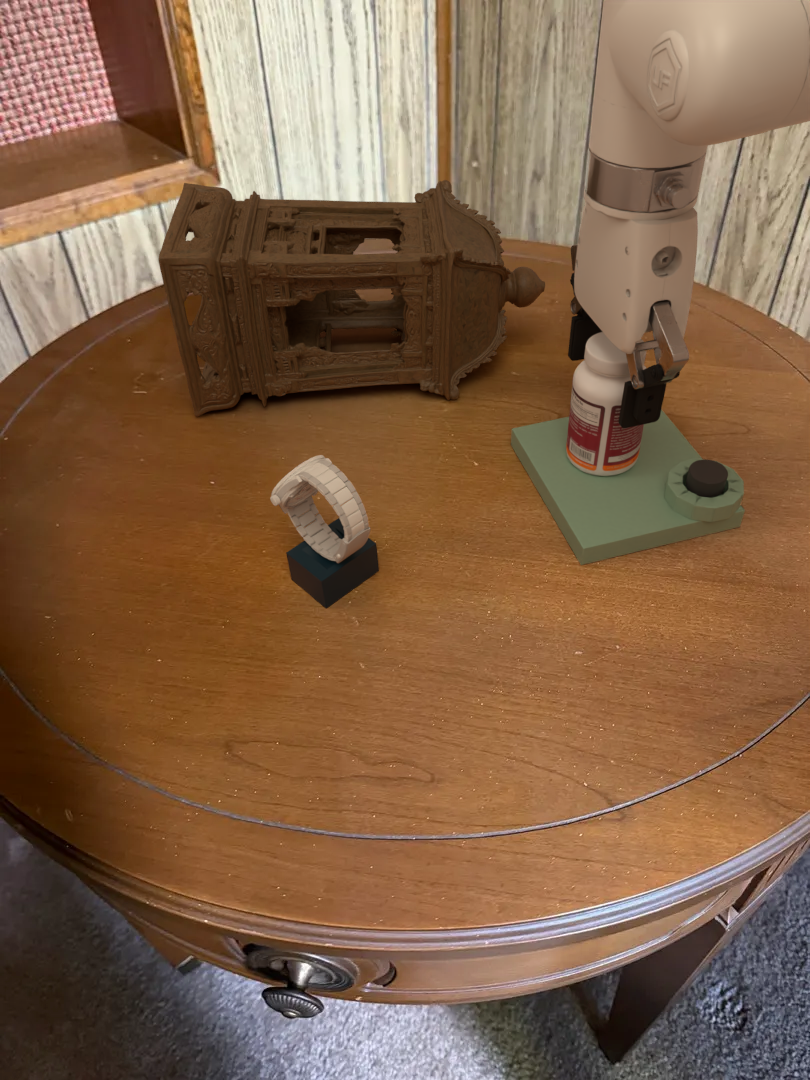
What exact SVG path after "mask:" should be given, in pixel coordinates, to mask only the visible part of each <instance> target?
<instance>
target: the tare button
mask: <svg viewBox="0 0 810 1080" xmlns="http://www.w3.org/2000/svg"><path fill="white" fill-rule="evenodd" d="M702 459H703V460H697V461H695V462H693V463H692V464H691V465H690V467H689V470H688V474H687V478H686V487H687V489H688V490H689V491H690V492H692V493H694V494H696V495H698V496H701V497H708V498H713V497H717V496H719V495H720V494H721V493H722V492H723V491H724V488H725V484H726V481H727V477H728V471H727V469H726V468H725V467H724V466H723V465H722V464H723V463H722V464H720V463H721V462H720V461H718V462H716V461H717V460H714V461H713V459H705V458H702ZM719 462H720V463H719Z"/></svg>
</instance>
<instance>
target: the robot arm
mask: <svg viewBox="0 0 810 1080" xmlns="http://www.w3.org/2000/svg"><path fill="white" fill-rule="evenodd" d="M600 21H601V22H600V30H599V41H598V50H597V60H596V70H595V79H594V80H595V81H594V90H593V99H592V110H591V111H592V112H591V121H590V132H589V140H588V141H589V142H588V149H587V156H586V157H587V158H586V167H585V168H586V169H585V176H584V189H583V199H584V201H585V202H584V204H583V205H584V206H583V211H582V216H581V221H580V227H579V232H578V233H579V234H578V240H577V244H573V245H571V247H570V258H571V269H572V271H573V273H571V276H570V279H569V281H570V285H571V287H572V291H573V296H574V297H573V298H572V299H571V300H570V311H571V313H572V315H573V316H571V320H570V321H571V322H570V332H569V340H568V351H567V356H568V358H569V360H570V361H572V362H577V361H581V360H582V361H583V360H584V354H585V347H586V343H587V341H588V339H589V338H590V337H592V336H593V335H595V334H597V333H600V332H603V333H604V334H605V335H606V336H607V337H608V339H609V340H610V341H611V342H612V343H613V344H614V345H615V346H616V347H617V348H618V349H620V350H621V351H623V352H625V353H626V357H627V363H628V368H629V374H630V379H631V381H627V382H625V384H624V390H623V396H622V403H621V409H620V415H619V421H618V422H619V424H620V426H621V427H622V428H629V427H634V426H638V425H643V424H648V423H652V422H656V421H657V420H658V419H659V418H660V414H661V409H662V407H663V404H664V400H665V399H664V398H665V393H666V390H667V389H666V388H667V384H669V383H671V382H673V380H675V379H677V378H678V377H679V376H680V374H681V371H682V370H683V368H684V367H685V366H686V364H687V363H688V361H689V360H690V352H689V348H688V346H687V343H686V342H685V339H684V338H685V335H686V330H687V326H688V322H689V316H690V315H689V314H690V309H691V303H692V298H693V297H692V296H693V290H694V284H695V283H694V282H695V276H696V275H695V274H696V265H697V256H698V255H697V254H698V234H699V233H698V232H699V231H698V230H699V229H698V224H699V223H698V211H697V209H695V208H694V207H695V206H696V204H697V201H698V197H699V192H700V187H701V181H702V178H703V171H704V167H705V162H706V157H707V152H708V151H707V150H708V146H712V145H718V144H723V143H726V142H731V141H735V140H740V139H744V138H748V137H752V136H758V135H761V134H764V133H767V132H769V131H774V130H777V129H782V128H783V129H784V128H787V127H790V126H795V125H799V124H800V125H801V124H803V123H808V122H810V0H602V10H601V19H600ZM648 333H652V338H653V339H652V340H651V339H650V340H646V341H644V342H641V343H636V341H640V340H641V339H642V338H643V336H644V335H645V334H648ZM644 351H647V352H648V351H653V353H654V358H655V364H652V365H650V366H648V367H646V369H644V370H643V367H642V361H641V356H640V352H644ZM662 410H663V409H662Z"/></svg>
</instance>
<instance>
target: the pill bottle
mask: <svg viewBox="0 0 810 1080" xmlns="http://www.w3.org/2000/svg"><path fill="white" fill-rule="evenodd" d="M641 342H645V341H644V340H643V339H642V338H641V340H640V341H636V343H641ZM647 352H648V351H644V352H640V356H641V361H642V367H643V370H644V369H646V368H647V367H646V365H645V362H646V356H647ZM627 381H631V379H630V374H629V368H628V363H627V357H626V353H625V352H623V351H621V350H620V349H618V348H617V347H616V346H615V345H614V344H613V343H612V342H611V341H610V340H609V339H608V337H607V336H606V335H605V334H604V333H603V332H600V333H597V334H595V335H593V336H592V337H590V338H589V339H588V341H587V343H586V347H585V354H584V359H583V360H582V361H581V362H580V363H579V364H578V365H577V367H576V368H575V369H574V372H573V375H572V384H571V393H570V394H571V395H570V404H569V414H568V417H569V424H568V434H567V443H566V452H567V456H568V458H569V460H570V462H571V463H572V464H573V465H574V466H575V467H577V468H578V469H579V470H581V471H583V472H585V473H588V474H592V475H598V476H611V475H617V474H620V473H623V472H625V471H627V470H629V469H630V468H631V467H632V466H633V465H634V464H635V463H636V461H637V459H638V455H639V451H640V444H641V439H642V433H643V427H644V424H643V425H638V426H634V427H629V428H622V427H621V426H620V424H619V422H618V421H619V415H620V409H621V403H622V396H623V390H624V384H625V382H627Z"/></svg>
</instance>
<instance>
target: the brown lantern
mask: <svg viewBox="0 0 810 1080" xmlns="http://www.w3.org/2000/svg"><path fill="white" fill-rule="evenodd" d="M452 188H453V187H452V183H451V182H450V181H449V180H448V179H444V180H439V181H438V182H437V183H436V186H435V187H431V188H429V189H428V190H426V191H423V192H416V193H415V194H414V202H412V201H411V202H410V201H409V202H408V201H406V202H405V201H363V200H361V201H358V200H356V201H355V200H327V199H326V200H325V199H324V200H323V199H279V198H278V199H276V198H274V199H273V198H272V199H271V198H261V195H260V194H258V193H257V192H256V191H255V190H253V191H252V194H250V195H249V198H245V199H244V200H236V198H233V194H232V192H231V191H229V189H228V188H224V187H220V186H209V185H203V184H197V183H188V182H184V183H183V186H182V190H181V193H180V196H179V198H178V201H177V203H176V206H175V208H174V211H173V213H172V216H171V219H170V222H169V224H168V227H167V231H166V233H165V235H164V239H163V242H162V245H161V249H160V251H159V254H158V265H159V269H160V275H161V278H162V279H161V280H162V282H163V288H164V292H165V295H166V300H167V305H168V309H169V312H170V317H171V321H172V326H173V331H174V333H175V337H176V343H177V347H178V352H179V355H180V358H181V362H182V366H183V370H184V375H185V378H186V383H187V388H188V393H189V396H190V400H191V405H192V409H193V414H194V416H195V417H199V416H201V415H203V414H206V413H208V412H211V411H219V410H226V409H231V408H233V407H235V406H236V405H237V404H238V402H239V401H240V399H241V396H242V395H244V394H245V393H246V394H247V393H251V395H257V397H258V399H259V400H261V403H262V406H263V407H264V408H265V407H266V406H267V400H268V398H269V397H272V396H273V397H274V396H276V397H282V396H285V395H286V394H294V393H295V394H296V393H305V392H315V391H327V390H329V391H330V390H340V389H349V388H358V387H369V386H381V385H383V386H385V385H407V384H408V385H409V384H411V385H412V384H419V390H421V392H427V391H428V392H429V393H434V394H436V395H440V396H444V397H445V399H446V400H447V401H450V400H457V399H458V398H459V396H460V389H459V387H458V385H459V383H460V381H461V379H464V378H466V377H467V376H468V375H467V374H469V373H470V374H472V372H473V370H476V369H479V368H480V366H481V364H488V363H491V362H493V359H492V358H491V357H494V356H497V355H498V352H497V349H498V348H499V347H500V345H502V344H503V343H504V342H506V340H507V338H508V335H506V333H507V329H506V327H505V326H506V322H507V320H508V316H506V315H505V314H506V309H503V308H504V307H505V305H506V303H507V302H509V303H510V304H511V305H514V306H515V307H516V308H526V307H529V306H531V305H533V303H535V301H536V300H537V299H538V298H539V297H540V295H541V294H542V293H544V292H545V289H546V282H545V281H544V280H542V279H541V278H540V276H539V275H538V274H537V273H536V272H535V271H534V270H533V269H532V268H530V267H528V266H517V267H516V268H515V269H513V271H512V270H511V269H509V268H507V267H506V266H505V261H504V260H503V258H502V257H503V256H502V254H503V253H504V252H505V250H504V249H503V247H502V245H501V244H502V243H503V239H502V238H501V236H500V235H499V234H502V232H501V230H500V229H499V228H497V227H496V226H495V225H496V223H495V222H494V221H493V220H491V219H490V220H488V216H487V215H484V214H479V210H477V209H472V208H469V206H470V204H468V203H461V200H460V199H456V198H457V197H456V196H455V195H454V194H453V190H452ZM189 233H193V237H192V238H191V240H187V237H188V234H189ZM370 239H371V240H372V239H373V240H374V239H375V240H376V239H380V240H381V239H382V240H383V239H384V240H390V241H391V243H392V244H393V246H392V247H391V249H392V251H395V252H396V253H360V254H359V253H357V254H354V252H355V251H356V250H357V249H358V248H359V246H360V245H361V244H364V243H365V240H370ZM358 290H360V291H361V290H362V291H363V290H390V291H391V293H390V295H392V298H391V299H387V300H386V299H384V300H366V299H364V298H362V296H360V294H359V293H358V292H357V291H358ZM189 294H193V296H198V295H200V296H201V300H200V301H201V302H200V306H199V308H198V310H197V313H196V315H195V317H194V320H193V321H192V324H191V325H190V323H189V320H188V315H187V310H186V306H185V302H186V300H187V297H188V296H189ZM366 329H367V330H371V329H372V330H373V329H394V330H392V331H391V333H390V334H391V335H392V336H394V337H398V336H399V337H401V343H399V342H393V343H391V344H390V345H391V346H390V348H388V349H371V350H357V351H356V350H355V351H344V352H343V351H341V352H339V351H337V352H333V351H332V331H333V330H366ZM322 333H324V334H325V337H324V336H323V337H321V334H322ZM322 348H324V349H322ZM198 358H200V359H201V360H202V361H203V362H204V366H203V369H202V371H201V366H200V363H199V360H198Z"/></svg>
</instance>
